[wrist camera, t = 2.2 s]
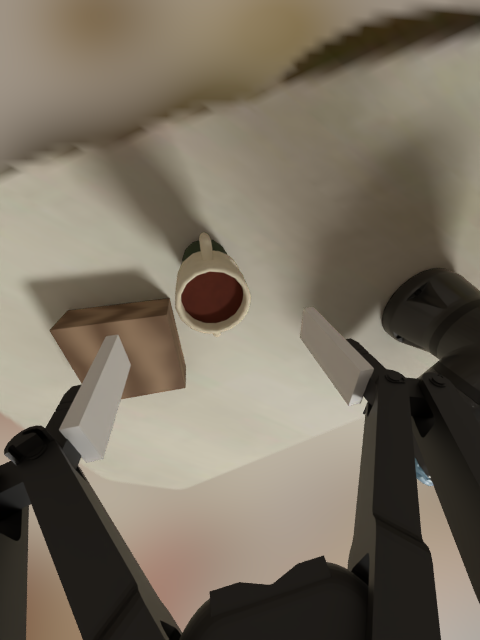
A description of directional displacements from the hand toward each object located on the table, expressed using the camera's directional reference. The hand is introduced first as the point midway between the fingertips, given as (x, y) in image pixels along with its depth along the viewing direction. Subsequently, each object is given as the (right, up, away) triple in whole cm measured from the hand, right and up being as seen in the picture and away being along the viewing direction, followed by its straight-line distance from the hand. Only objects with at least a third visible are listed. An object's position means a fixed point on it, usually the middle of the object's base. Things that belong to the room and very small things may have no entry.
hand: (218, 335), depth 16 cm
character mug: (-3, +10, +16) cm, 19 cm away
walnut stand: (-15, -2, +20) cm, 25 cm away
